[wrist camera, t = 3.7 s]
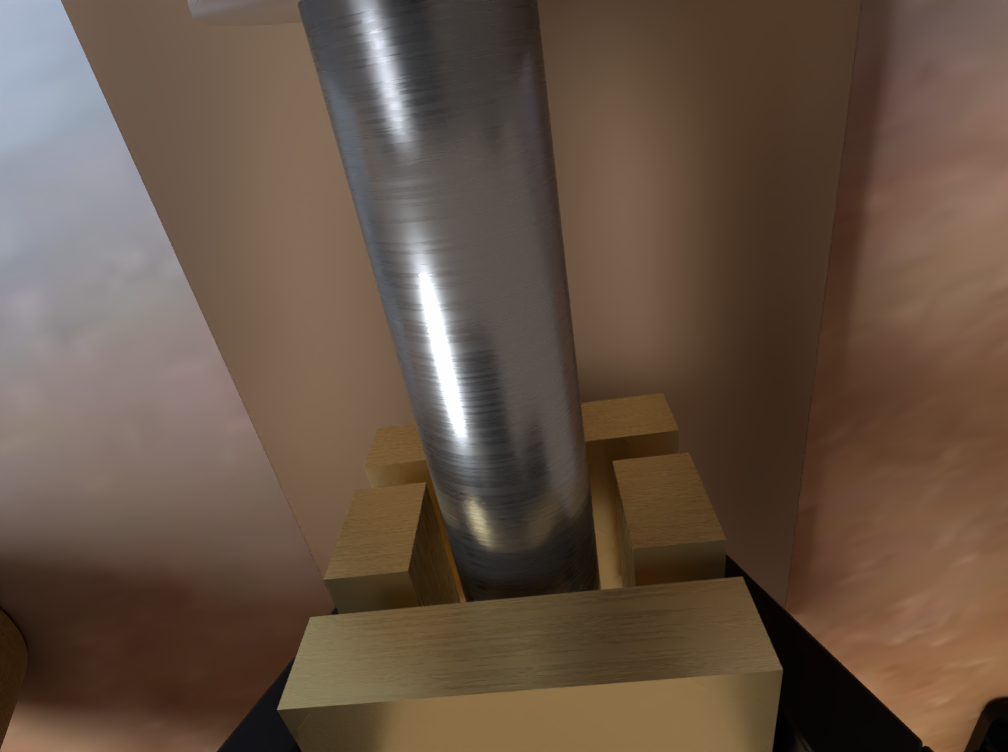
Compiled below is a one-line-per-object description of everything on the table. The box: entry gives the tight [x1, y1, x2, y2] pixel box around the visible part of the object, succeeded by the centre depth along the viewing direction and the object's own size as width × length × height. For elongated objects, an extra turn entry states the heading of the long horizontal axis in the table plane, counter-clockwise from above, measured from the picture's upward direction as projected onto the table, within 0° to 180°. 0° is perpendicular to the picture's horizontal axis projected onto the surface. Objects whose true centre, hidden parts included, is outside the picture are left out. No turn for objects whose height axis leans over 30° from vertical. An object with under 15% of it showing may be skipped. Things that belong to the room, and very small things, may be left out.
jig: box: [61, 0, 862, 609], centre depth 10 cm, size 12×21×7 cm, turn 9°
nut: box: [277, 393, 783, 752], centre depth 9 cm, size 5×4×5 cm
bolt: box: [186, 0, 601, 602], centre depth 9 cm, size 6×19×6 cm, turn 9°
